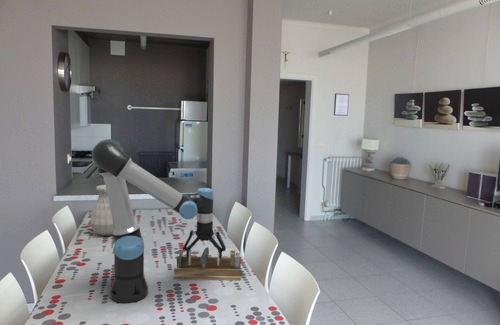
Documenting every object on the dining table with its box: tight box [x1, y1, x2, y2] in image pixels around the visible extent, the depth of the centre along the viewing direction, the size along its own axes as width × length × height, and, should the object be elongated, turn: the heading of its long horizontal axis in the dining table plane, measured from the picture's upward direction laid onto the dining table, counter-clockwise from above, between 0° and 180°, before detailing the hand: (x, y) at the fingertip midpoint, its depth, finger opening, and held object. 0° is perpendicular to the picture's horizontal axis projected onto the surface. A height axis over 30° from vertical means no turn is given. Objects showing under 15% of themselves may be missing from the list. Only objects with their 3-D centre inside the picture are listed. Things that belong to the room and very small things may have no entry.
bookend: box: [178, 250, 184, 268], centre depth 179 cm, size 5×3×9 cm, turn 1°
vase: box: [89, 184, 115, 236], centre depth 236 cm, size 20×20×30 cm
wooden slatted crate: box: [173, 250, 242, 281], centre depth 180 cm, size 12×31×11 cm, turn 91°
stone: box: [199, 246, 210, 269], centre depth 179 cm, size 11×4×10 cm, turn 175°
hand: (204, 264), depth 180 cm, fingers open, 13 cm apart
